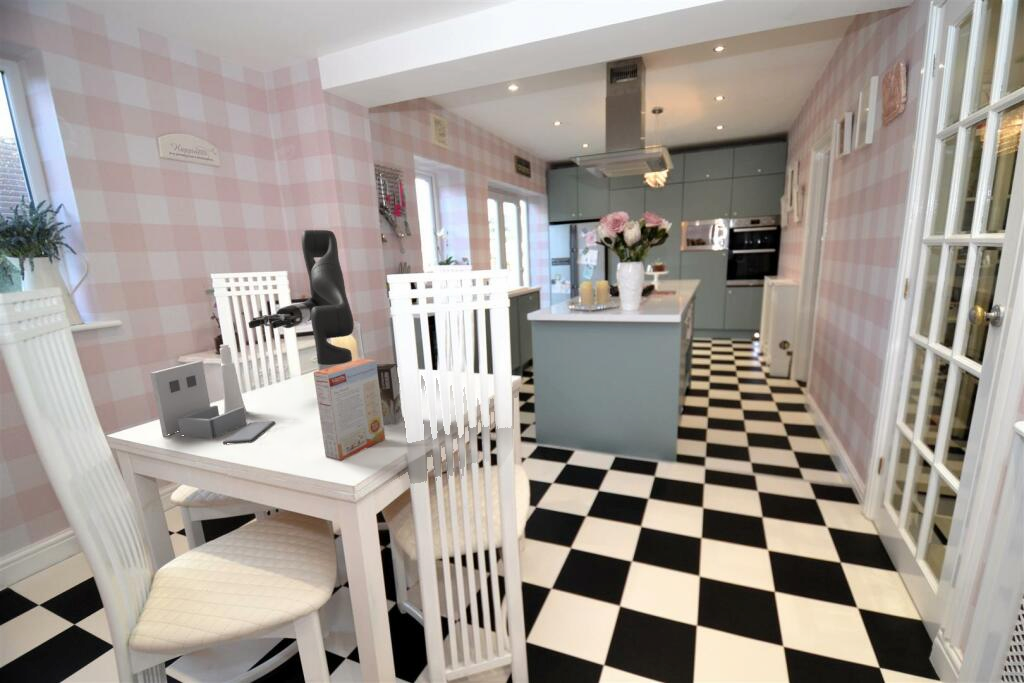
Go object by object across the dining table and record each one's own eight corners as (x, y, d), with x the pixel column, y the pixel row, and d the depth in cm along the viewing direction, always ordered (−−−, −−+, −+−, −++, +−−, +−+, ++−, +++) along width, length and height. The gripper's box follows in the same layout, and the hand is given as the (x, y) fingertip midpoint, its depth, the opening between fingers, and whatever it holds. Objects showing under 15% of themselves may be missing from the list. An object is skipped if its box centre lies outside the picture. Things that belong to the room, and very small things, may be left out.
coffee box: (403, 416, 131) (398, 363, 128) (397, 424, 125) (391, 368, 122) (372, 417, 131) (366, 364, 128) (364, 425, 125) (358, 369, 122)
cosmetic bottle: (249, 409, 144) (239, 342, 140) (241, 415, 138) (230, 345, 134) (229, 411, 144) (218, 343, 140) (220, 417, 138) (208, 347, 134)
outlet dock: (252, 421, 133) (242, 361, 130) (209, 439, 120) (197, 374, 117) (208, 418, 138) (198, 360, 134) (162, 435, 124) (150, 372, 121)
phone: (275, 424, 131) (274, 420, 131) (251, 444, 117) (251, 439, 117) (250, 426, 130) (249, 422, 130) (223, 446, 117) (223, 441, 116)
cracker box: (369, 435, 118) (361, 357, 114) (386, 439, 114) (378, 359, 111) (323, 457, 106) (312, 370, 102) (340, 461, 103) (329, 373, 99)
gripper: (274, 305, 162) (240, 313, 146) (310, 305, 159) (278, 313, 144) (278, 325, 164) (244, 336, 148) (313, 325, 161) (282, 336, 145)
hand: (261, 325), depth 146 cm, fingers open, 8 cm apart
